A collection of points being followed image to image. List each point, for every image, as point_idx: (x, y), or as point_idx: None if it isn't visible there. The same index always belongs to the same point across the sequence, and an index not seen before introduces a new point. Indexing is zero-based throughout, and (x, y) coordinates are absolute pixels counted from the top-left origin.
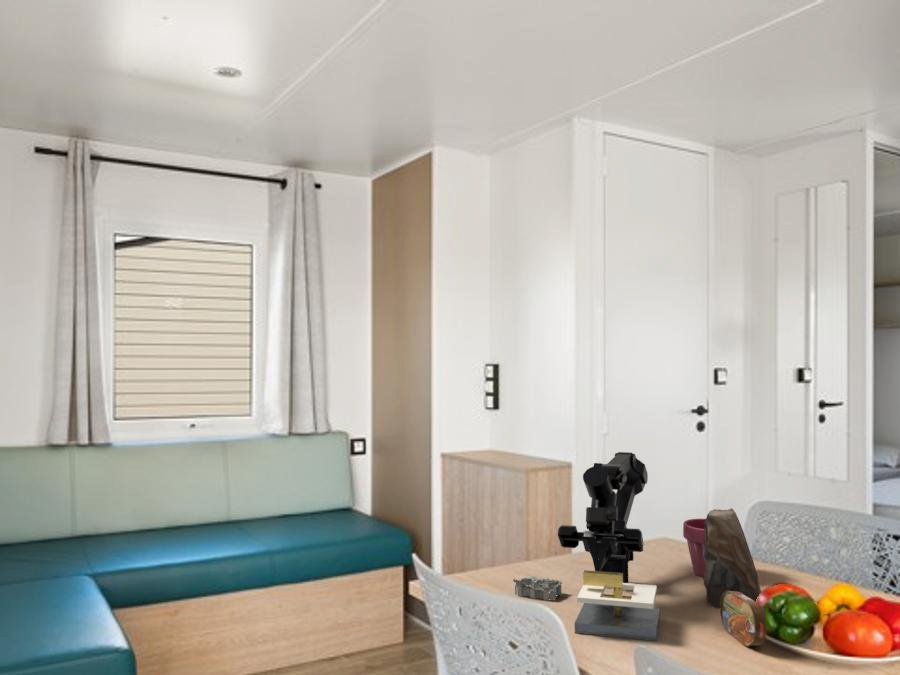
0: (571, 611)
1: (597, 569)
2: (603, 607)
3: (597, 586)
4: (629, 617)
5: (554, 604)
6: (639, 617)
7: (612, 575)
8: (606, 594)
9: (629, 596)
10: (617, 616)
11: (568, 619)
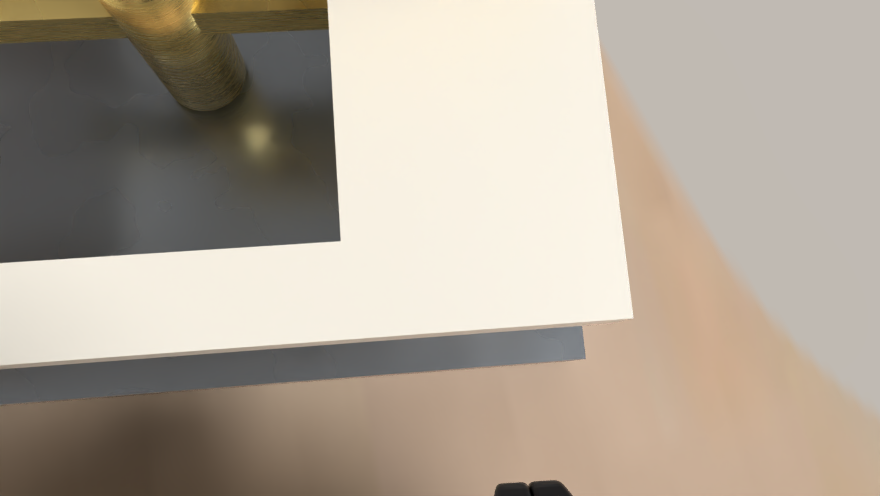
0: (669, 323)
1: (523, 490)
2: None
3: (418, 69)
4: (102, 56)
5: (865, 464)
6: (12, 82)
7: None
8: (291, 2)
9: (13, 11)
10: None
11: (634, 119)
